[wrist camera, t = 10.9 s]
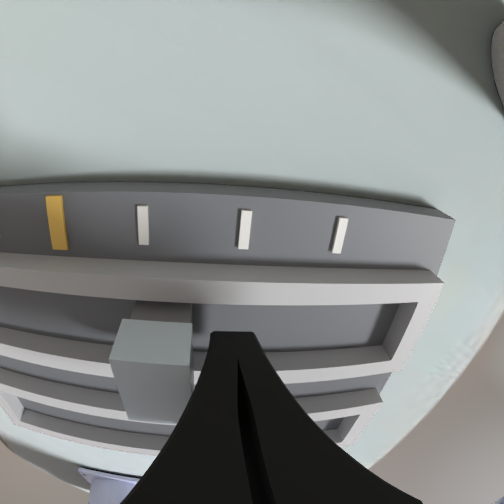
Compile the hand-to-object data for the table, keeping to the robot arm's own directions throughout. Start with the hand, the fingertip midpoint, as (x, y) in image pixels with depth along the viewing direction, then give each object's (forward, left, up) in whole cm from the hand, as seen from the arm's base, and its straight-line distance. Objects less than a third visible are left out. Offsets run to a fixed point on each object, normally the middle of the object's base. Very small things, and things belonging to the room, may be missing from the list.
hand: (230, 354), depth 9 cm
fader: (0, +2, -1) cm, 3 cm away
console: (-3, +3, -3) cm, 5 cm away
